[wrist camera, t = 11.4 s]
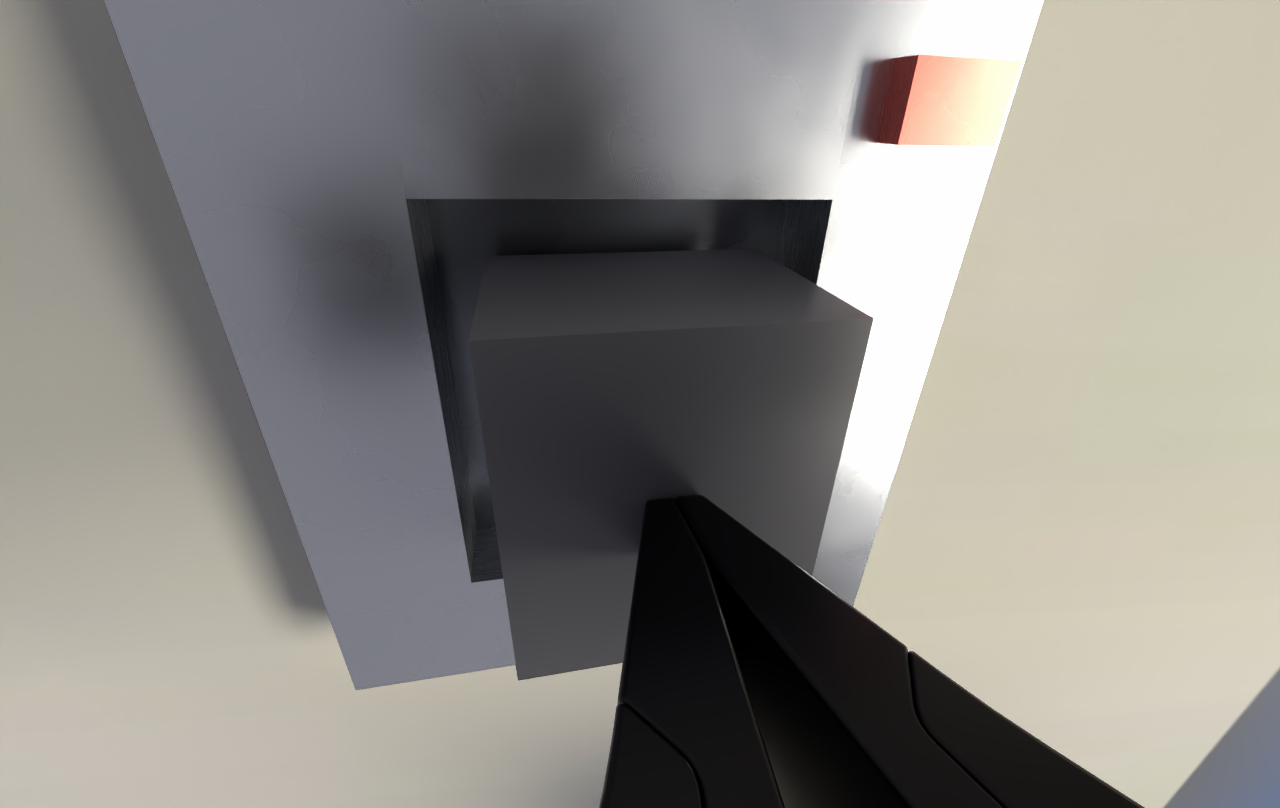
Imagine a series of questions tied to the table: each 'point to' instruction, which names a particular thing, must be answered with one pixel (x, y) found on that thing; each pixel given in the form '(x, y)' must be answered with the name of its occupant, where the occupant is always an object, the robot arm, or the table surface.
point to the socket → (544, 231)
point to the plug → (649, 421)
